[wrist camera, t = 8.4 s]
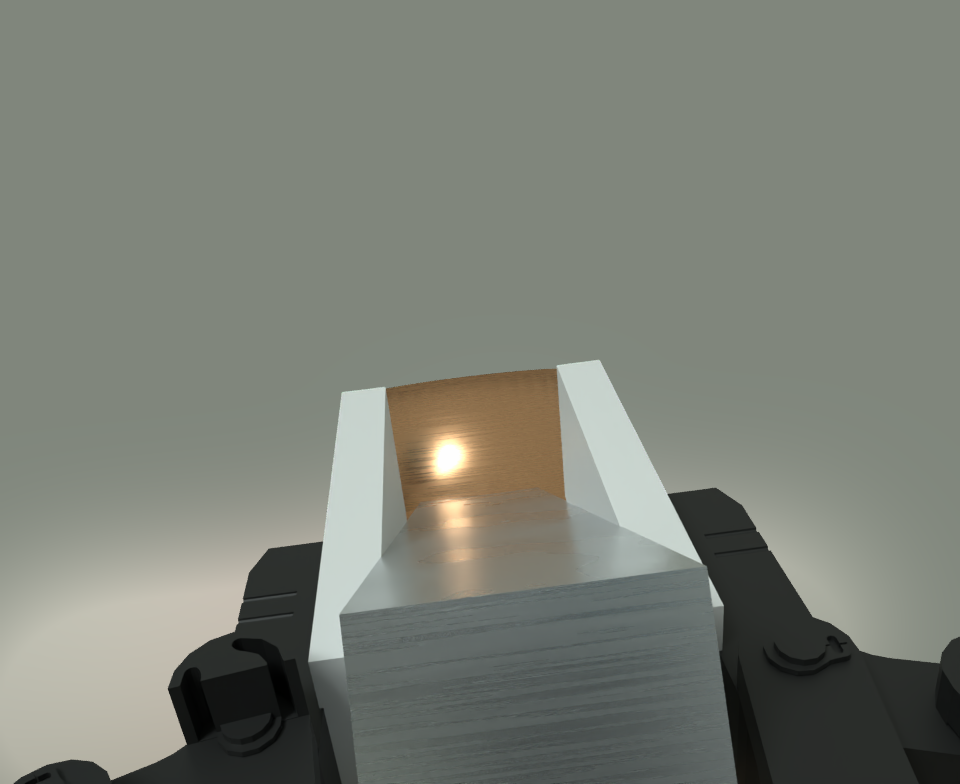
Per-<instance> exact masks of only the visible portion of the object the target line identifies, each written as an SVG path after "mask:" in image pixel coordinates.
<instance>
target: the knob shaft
mask: <svg viewBox="0 0 960 784" xmlns="http://www.w3.org/2000/svg"><path fill="white" fill-rule="evenodd" d="M386 393H387V399H388V406H389V412H390V418H391V424H392V430H393V436H394V442H395V449H396V455H397V461H398V467H399V473H400V479H401V485H402V492H403V498H404V504H405V510H406V516H407V522H406V523H405V525H404V526H403V528H402V529H401V530H400V532H399V533H398V535H397V536H396V537H395V539H394V540H393V542H392V543H391V544H390V546H389V547H388V549H387V550H386V551H385V553H384V554H383V556H382V557H380V559H379V560H378V561H377V563H376V564H375V566H374V567H373V568H372V570H371V571H370V572H369V574H368V575H367V577H366V578H365V579H364V581H363V582H362V584H361V585H360V586H359V588H358V589H357V590H356V592H355V593H354V595H353V596H352V597H351V599H350V600H349V601H348V603H347V604H346V606H345V607H344V608H343V610H342V611H341V613H340V614H339V618H340V627H341V635H342V644H343V653H344V662H345V671H346V679H347V688H348V697H349V706H350V715H351V723H352V732H353V741H354V750H355V759H356V767H357V776H358V784H737V777H736V770H735V763H734V756H733V749H732V741H731V734H730V727H729V720H728V713H727V706H726V699H725V691H724V684H723V677H722V670H721V663H720V656H719V649H718V641H717V634H716V627H715V620H714V613H713V606H712V599H711V591H710V584H709V577H708V570H707V566H705V565H703V564H701V563H699V562H697V561H695V560H693V559H690V558H688V557H686V556H684V555H682V554H680V553H678V552H675V551H673V550H671V549H669V548H667V547H665V546H662V545H660V544H658V543H656V542H654V541H652V540H650V539H647V538H645V537H643V536H641V535H639V534H637V533H635V532H632V531H630V530H628V529H626V528H624V527H622V526H621V527H620V526H618V525H616V524H613V523H611V522H609V521H607V520H605V519H603V518H601V517H599V516H597V515H594V514H592V513H590V512H588V511H586V510H584V509H582V508H580V507H578V506H575V505H573V504H571V503H569V502H567V501H566V497H565V487H564V472H563V457H562V441H561V426H560V411H559V395H558V380H557V369H541V370H527V371H515V372H505V373H495V374H486V375H477V376H468V377H460V378H452V379H444V380H437V381H430V382H423V383H417V384H411V385H404V386H398V387H393V388H387V389H386Z"/></svg>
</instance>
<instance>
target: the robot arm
mask: <svg viewBox="0 0 960 784" xmlns="http://www.w3.org/2000/svg"><path fill="white" fill-rule="evenodd" d="M557 380H558V395H559V411H560V426H561V441H562V457H563V472H564V487H565V497H566V501H567V502H569V503H571V504H573V505H575V506H578V507H580V508H582V509H584V510H586V511H588V512H590V513H592V514H594V515H597V516H599V517H601V518H603V519H605V520H607V521H609V522H611V523H613V524H616V525H618V526H620V527H621V526H622V527H624V528H626V529H628V530H630V531H632V532H635V533H637V534H639V535H641V536H643V537H645V538H647V539H650V540H652V541H654V542H656V543H658V544H660V545H662V546H665V547H667V548H669V549H671V550H673V551H675V552H678V553H680V554H682V555H684V556H686V557H688V558H690V559H693V560H695V561H697V562H699V563H701V564H703V565H705V566H707V570H708V577H709V584H710V591H711V599H712V606H713V613H714V620H715V627H716V634H717V641H718V649H719V656H720V663H721V670H722V677H723V684H724V691H725V699H726V706H727V713H728V720H729V727H730V734H731V741H732V749H733V756H734V763H735V770H736V777H737V784H960V637H958V638H956V639H953V640H951V642H950V643H949V644H948V646H947V647H946V648H945V650H944V651H943V652H942V656H941V661H940V664H939V663H930V662H920V661H911V660H901V659H892V658H886V657H881V656H875V655H871V654H868V653H865V652H862V651H859V649H858V648H857V647H856V645H855V644H854V643H853V641H852V640H851V639H850V637H849V636H848V635H847V634H845V633H844V632H842V631H841V630H839V629H838V628H836V627H835V626H833V625H832V624H830V623H828V622H825V621H822V620H819V619H816V618H813V617H812V615H811V614H810V612H809V611H808V609H807V607H806V606H805V604H804V603H803V601H802V599H801V598H800V596H799V595H798V593H797V592H796V590H795V588H794V587H793V585H792V584H791V582H790V581H789V579H788V578H787V576H786V574H785V573H784V571H783V570H782V568H781V567H780V565H779V563H778V562H777V560H776V558H775V557H774V555H773V554H772V552H771V551H768V546H767V544H766V543H765V541H764V539H763V538H762V536H761V535H760V533H759V532H757V531H756V527H755V525H754V524H753V522H752V521H751V519H750V517H749V516H748V514H747V513H746V511H745V509H744V508H743V506H742V505H741V504H739V503H738V502H736V501H735V500H733V499H732V498H730V497H729V496H727V495H726V494H724V493H723V492H721V491H720V490H718V489H717V488H710V489H703V490H695V491H687V492H680V493H672V494H667V493H666V491H665V489H664V487H663V485H662V483H661V481H660V479H659V477H658V475H657V473H656V471H655V469H654V467H653V465H652V463H651V461H650V459H649V457H648V455H647V453H646V451H645V449H644V447H643V445H642V443H641V441H640V439H639V437H638V435H637V433H636V431H635V429H634V428H633V426H632V423H631V422H630V420H629V418H628V416H627V414H626V412H625V410H624V408H623V406H622V404H621V402H620V400H619V398H618V396H617V394H616V392H615V390H614V388H613V386H612V384H611V382H610V380H609V378H608V376H607V374H606V372H605V370H604V368H603V366H602V364H601V363H600V360H596V361H587V362H579V363H571V364H563V365H557ZM406 522H407V516H406V510H405V504H404V498H403V492H402V485H401V479H400V473H399V467H398V461H397V455H396V449H395V442H394V436H393V430H392V424H391V418H390V412H389V406H388V399H387V393H386V388H385V387H381V388H372V389H364V390H356V391H349V392H342V396H341V404H340V412H339V420H338V429H337V436H336V444H335V453H334V460H333V468H332V476H331V484H330V492H329V500H328V508H327V516H326V524H325V531H324V540H323V542H316V543H309V544H301V545H293V546H286V547H279V548H271V549H268V550H267V552H266V553H265V554H264V555H263V556H262V558H261V559H260V560H259V561H258V563H257V564H256V565H255V566H254V567H253V569H252V570H251V571H250V572H249V576H248V580H247V584H246V588H245V592H244V597H243V600H244V602H243V603H242V605H241V609H240V613H239V618H238V621H239V623H238V624H237V626H236V630H235V632H233V633H230V634H227V635H224V636H221V637H219V638H216V639H213V640H210V641H208V642H207V643H205V644H204V645H202V646H201V647H199V648H198V649H197V650H195V651H194V652H192V653H190V654H189V655H188V656H187V657H186V658H185V659H184V661H183V662H182V663H181V664H180V665H179V666H178V667H177V669H176V670H175V671H174V673H173V676H172V679H171V681H170V684H169V687H168V691H169V694H170V696H171V700H172V703H173V705H174V708H175V711H176V714H177V717H178V720H179V723H180V726H181V729H182V732H183V734H184V737H185V740H186V743H187V745H185V746H184V747H183V748H181V749H180V750H178V751H177V752H175V753H174V754H172V755H170V756H168V757H166V758H164V759H162V760H160V761H158V762H156V763H154V764H151V765H149V766H147V767H144V768H141V769H139V770H136V771H134V772H131V773H129V774H126V775H124V776H121V777H119V778H116V779H114V780H110V778H109V775H108V773H107V771H105V770H104V769H102V768H101V767H99V766H98V765H97V764H95V763H94V762H90V761H81V760H68V761H63V762H58V763H54V764H49V765H46V766H44V767H42V768H40V769H38V770H35V771H34V772H31V773H29V774H27V775H25V776H23V777H21V778H20V779H19V780H17V781H16V782H15V783H14V784H358V776H357V767H356V759H355V750H354V741H353V732H352V723H351V715H350V706H349V697H348V688H347V679H346V671H345V662H344V653H343V644H342V635H341V627H340V618H339V614H340V613H341V611H342V610H343V608H344V607H345V606H346V604H347V603H348V601H349V600H350V599H351V597H352V596H353V595H354V593H355V592H356V590H357V589H358V588H359V586H360V585H361V584H362V582H363V581H364V579H365V578H366V577H367V575H368V574H369V572H370V571H371V570H372V568H373V567H374V566H375V564H376V563H377V561H378V560H379V559H380V557H382V556H383V554H384V553H385V551H386V550H387V549H388V547H389V546H390V544H391V543H392V542H393V540H394V539H395V537H396V536H397V535H398V533H399V532H400V530H401V529H402V528H403V526H404V525H405V523H406Z"/></svg>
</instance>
